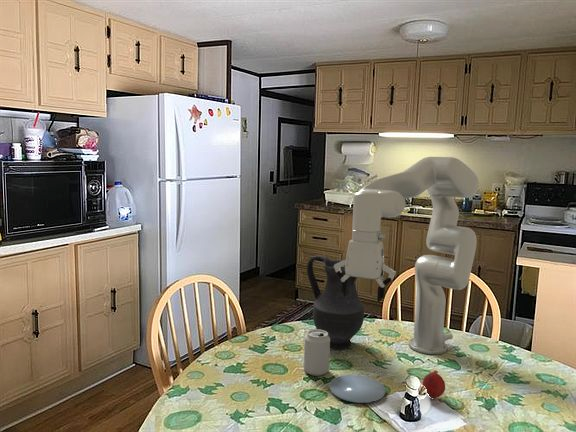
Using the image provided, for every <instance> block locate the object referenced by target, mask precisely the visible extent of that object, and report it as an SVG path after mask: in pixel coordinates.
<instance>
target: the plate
mask: <svg viewBox="0 0 576 432" xmlns="http://www.w3.org/2000/svg"><path fill="white" fill-rule="evenodd" d="M385 388H386V387H385V386H384V385H383V383H381V382H380V381H379V380H377V379H375V378H372V377H370V376H366V375H362V374H361V375H360V374H344V375H343V374H342V375H340V376H336V377H334V378H333V379H332V380H331V381H330V382H329V390H330V392H331V393H332V394H333V396H335V397H337V398H339V399H341V400H342V401H347V402H351V403H356V404H368V403H369V404H370V403H372V402H371V401H375V400H377V401H380V400H381V399H382V398H384V397H385V394H386V389H385ZM379 399H380V400H379ZM375 402H376V401H375Z"/></svg>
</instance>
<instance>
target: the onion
mask: <svg viewBox="0 0 576 432" xmlns="http://www.w3.org/2000/svg"><path fill="white" fill-rule="evenodd" d="M438 373H439V372H438V370H437V369H434V370H433V371H432V372H429V373H428V374H427V375H425V376H424V378H423V380H422V384H421V385H424V386H425V387H426V389H427V393H428V394H429V396H430V397H431V398H430V397H429V396H428V397H429V398H430V399H432V398H433V399H432V400H435V399H437V398H439V397H442V396H443V394H444V393H445V391H446V383H445V380H444V379H443V377H442V376H441V375H440V374H438Z"/></svg>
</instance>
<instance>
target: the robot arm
mask: <svg viewBox="0 0 576 432" xmlns="http://www.w3.org/2000/svg"><path fill="white" fill-rule="evenodd" d="M479 184H480V183H479V179H478V176H477V173H476V172H474V171H473V170H472V169H471V168H470V167H469V166H468V165H467V164H466V163H464V162H463V161H462V160H460V159H459V158H457V157H454V156H453V157H452V156H426V157H423V158H422V159H420V160H418V161H417V162H414V164H412V165H411V166H409V167H408V168H407V169H405V170H403V171H401V172H398V173H393V174H391V175H388V176H384V177H381V178H378V179H375V180H373V181H371V182H370V183H367V184H366V185H365V186H364V187H362V188H360V190H359V191H357V192H355V193H354V195H353V206H352V228H351V229H352V230H351V239H350V240H349V242H348V246H347V249H346V250H347V251H346V256H345V259H343V260H344V261H342V262H339V263H337V264H335V265H334V268H335V271H336V273H337V275H338V277H339V278H340V279H341V281H342V292H343V296H347V295H348V294H349V283H350V281H349V280H348V278H349V277H350V276H351V277H357V278H359V279H367V280H373V281H376V282H377V284H378V285H379V286H378V287H377V298H376V299H377V302H382V300H383V299H384V298H385V295H386V286H387V285H388V284H389V283H391V281H393V280H394V277H395V276H396V275H397V272H396V271H395V270H394V269H393V268H391V267H389V265H387V264H385V251H384V243H383V242H382V241H381V240H385V239H386V234H384V233H382V231H381V220H382V218H389V219H391V218H396V217H399V216H401V215H402V214H403V212H404V211H405V209H406V205H407V204H406V199H407V200H408V199H412V198H416V197H418V196H420V195H421V194H423V193H424V192H425V191H427V192H428V195H429V198H430V201H431V204H432V205H431V206H432V213H431V217H430V220H429V221H430V222H429V225H428V230H427V234H426V241H425V242H426V243H425V244H426V247H427V248H428V249H429V250H430V251H432V252H436V253H442V254H448V255H453V256H454V258H451V257H444V256H440V255H435V254H434V255H433V254H424V255H422V256H420V257H418V258H417V259H416V261H415V264H414V275H415V283H416V287H415V289H416V293H415V295H416V296H415V309H414V310H415V311H414V326H413V337H412V338H410V339H409V340H408V347H409V348H410V349H412V350H413V351H415V352H418V353H422V354H427V355H439V354H440V355H441V354H444V353H446V352H447V350H448V345H447V344H446V341H449V340H452V339H454V336H453V334H452V333H446V334H445V333H444V328H445V317H446V316H445V315H446V314H445V313H446V304H447V303H446V301H447V300H446V298H447V297H446V294H445V291H444V289H443V288H447V289H451V290H456V291H457V290H458V291H460V290H464V289H465V288H466V287H467V286H468V283H469V281H470V278H471V272H472V268H473V263H474V259H475V255H476V250H477V245H478V244H477V243H478V241H477V234H476V232H475V231H474V230H473V229H472V228H471V227H467V226H460V225H458V221H459V217H460V216H459V215H460V210H459V206H458V205H457V203H456V202H455V199H454V198H462V199H463V198H464V199H467V198H472V197H473V196H475V194H476V193H478V190H479ZM344 265H345V273H346V274H344V273H343V272H342V271H341V268H340V267H342V266H344ZM385 272H386V273H387V274H388V277H387V278H386V279H385V278H384V274H385Z"/></svg>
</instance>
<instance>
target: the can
mask: <svg viewBox="0 0 576 432" xmlns="http://www.w3.org/2000/svg"><path fill="white" fill-rule="evenodd" d="M303 348H304V349H303V352H304V353H303V354H304V355H303V370H304V371H305V372H306V373H307V374H309V375H311V376H314V377H315V376H316V377H320V376H324V375H326V374H327V373H329V370H330V352H331V351H330V350H331V349H330V337H329V336H328V333H327V332H326V331H324V330H319V329H316V328H315V329H309V330H308V331H306V335H305V336H304V347H303Z"/></svg>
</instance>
